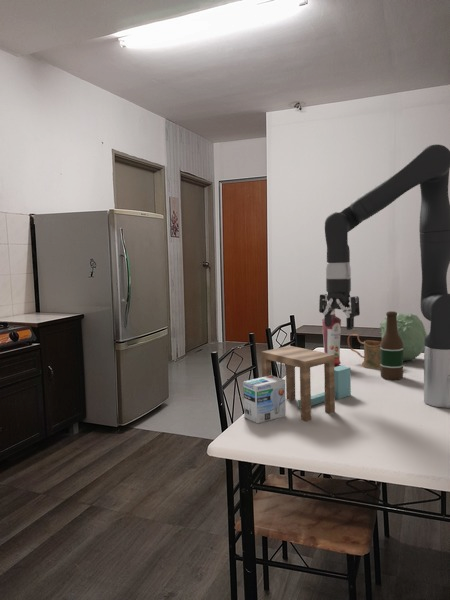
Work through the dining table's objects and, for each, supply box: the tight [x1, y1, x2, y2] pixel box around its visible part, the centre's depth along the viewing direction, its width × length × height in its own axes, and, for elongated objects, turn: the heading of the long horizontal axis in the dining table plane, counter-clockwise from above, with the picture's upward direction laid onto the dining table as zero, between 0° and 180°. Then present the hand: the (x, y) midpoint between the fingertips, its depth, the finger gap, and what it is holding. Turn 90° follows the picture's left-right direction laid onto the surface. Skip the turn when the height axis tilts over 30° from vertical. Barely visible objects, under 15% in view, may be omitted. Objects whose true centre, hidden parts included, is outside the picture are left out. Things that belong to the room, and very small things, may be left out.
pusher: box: [297, 365, 352, 409], centre depth 146 cm, size 21×4×9 cm, turn 127°
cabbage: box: [379, 312, 428, 362], centre depth 194 cm, size 16×19×20 cm
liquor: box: [321, 301, 342, 367], centre depth 188 cm, size 7×7×28 cm
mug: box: [347, 333, 381, 370], centre depth 189 cm, size 12×18×12 cm, turn 54°
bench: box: [261, 345, 336, 422], centre depth 139 cm, size 18×12×17 cm, turn 37°
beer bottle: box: [379, 311, 404, 381], centre depth 169 cm, size 8×8×24 cm
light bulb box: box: [242, 374, 287, 424], centre depth 134 cm, size 11×7×11 cm, turn 123°
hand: (338, 327), depth 149 cm, fingers open, 8 cm apart
